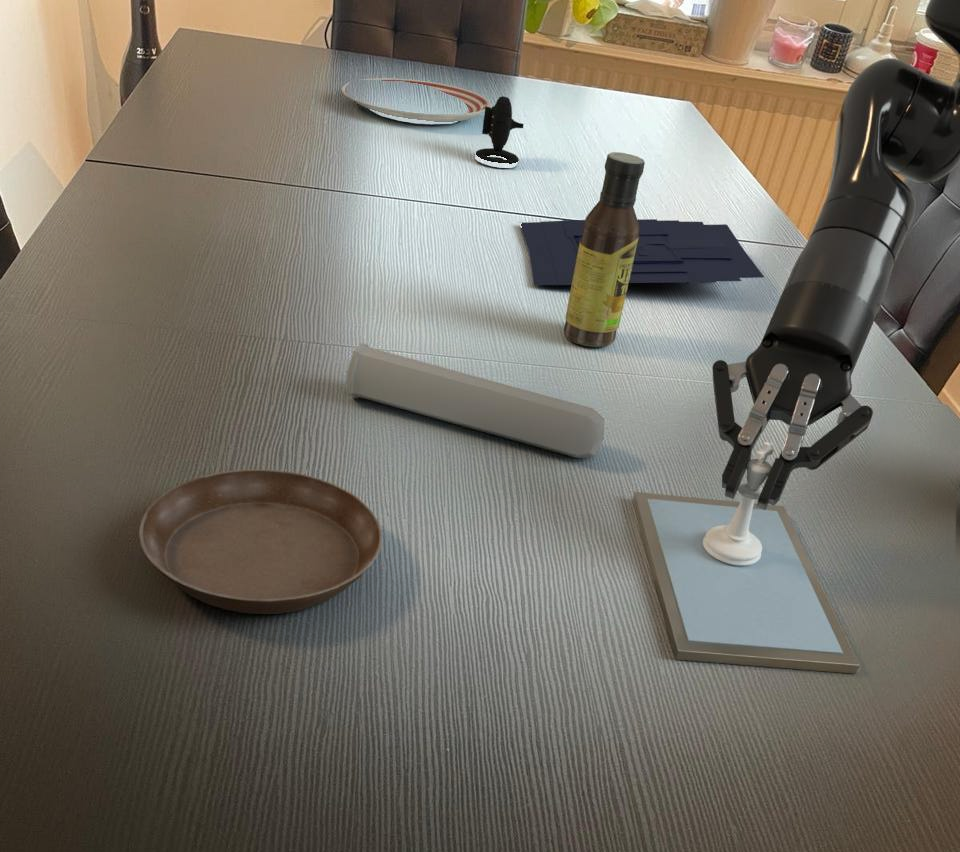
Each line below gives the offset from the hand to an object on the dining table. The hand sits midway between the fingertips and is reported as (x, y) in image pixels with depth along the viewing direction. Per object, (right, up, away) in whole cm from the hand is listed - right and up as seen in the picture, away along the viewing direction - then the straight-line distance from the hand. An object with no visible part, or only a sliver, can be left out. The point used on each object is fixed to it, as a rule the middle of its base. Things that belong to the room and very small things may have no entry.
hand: (745, 499), depth 80 cm
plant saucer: (-38, -5, -2) cm, 38 cm away
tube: (-22, +9, +19) cm, 30 cm away
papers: (0, +40, +59) cm, 72 cm away
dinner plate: (-33, +87, +109) cm, 143 cm away
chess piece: (0, -4, +5) cm, 6 cm away
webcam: (-18, +69, +91) cm, 115 cm away
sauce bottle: (-8, +24, +39) cm, 46 cm away
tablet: (0, -6, +4) cm, 7 cm away
